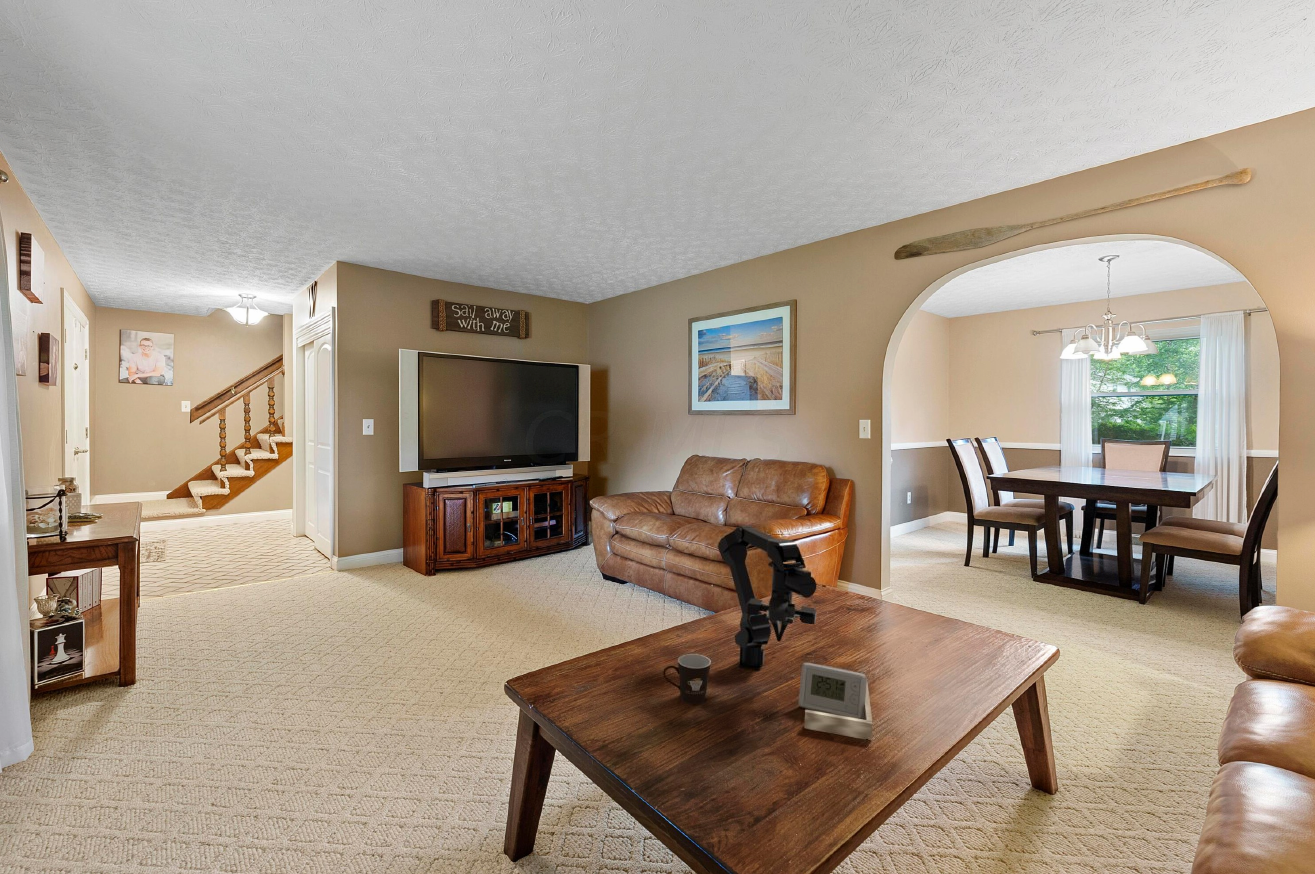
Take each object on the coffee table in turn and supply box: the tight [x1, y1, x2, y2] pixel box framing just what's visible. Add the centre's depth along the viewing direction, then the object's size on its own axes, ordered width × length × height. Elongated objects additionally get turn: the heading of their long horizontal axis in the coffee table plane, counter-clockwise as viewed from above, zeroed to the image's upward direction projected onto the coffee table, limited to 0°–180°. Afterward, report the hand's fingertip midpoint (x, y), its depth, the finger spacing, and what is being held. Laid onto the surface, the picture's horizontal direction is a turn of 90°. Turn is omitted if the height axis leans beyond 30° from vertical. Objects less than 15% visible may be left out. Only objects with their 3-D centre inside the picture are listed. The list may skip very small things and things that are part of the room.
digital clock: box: [798, 662, 868, 720], centre depth 150 cm, size 16×9×11 cm, turn 56°
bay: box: [803, 682, 874, 741], centre depth 150 cm, size 15×23×4 cm, turn 164°
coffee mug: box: [662, 653, 712, 706], centre depth 154 cm, size 12×9×10 cm
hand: (779, 640), depth 164 cm, fingers closed
